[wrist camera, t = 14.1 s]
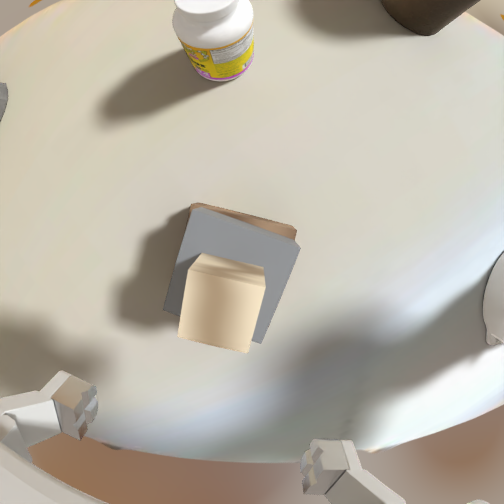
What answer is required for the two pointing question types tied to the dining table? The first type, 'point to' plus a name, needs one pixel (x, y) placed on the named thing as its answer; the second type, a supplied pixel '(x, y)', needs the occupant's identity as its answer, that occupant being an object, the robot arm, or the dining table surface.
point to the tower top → (234, 258)
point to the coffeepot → (3, 98)
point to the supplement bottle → (216, 36)
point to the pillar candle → (426, 13)
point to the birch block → (221, 302)
